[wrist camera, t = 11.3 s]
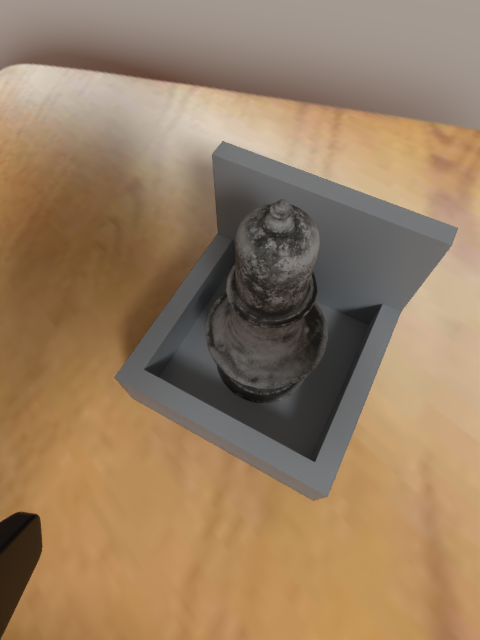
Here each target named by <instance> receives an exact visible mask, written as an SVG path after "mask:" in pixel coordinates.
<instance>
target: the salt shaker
mask: <svg viewBox="0 0 480 640" xmlns="http://www.w3.org/2000/svg"><path fill="white" fill-rule="evenodd" d="M319 249H320V237H319V230H318V228H317V225H316V223H315V222H314V221H313V219H312V218H311V217H310V216H309V215H308V214H307V213H306V212H304V211H303V210H302V209H300V208H298V207H296V206H294V205H290V204H289V203H288V202H287V201H285V199H280V200H279V201H277V202H275V203H272V204H266V205H264V206H261V207H259V208H257V209H255V210H254V211H252V212H251V213H249V214H248V215H247V216H246V217H245V218H244V219H243V220H242V222H241V223H240V225H239V228H238V230H237V233H236V236H235V266H234V267H233V268H232V270H231V271H230V274H229V276H228V279H227V286H226V291H225V292H224V293H223V294H222V295H220V296H219V298H218V299H217V300H216V302H215V303H214V304H213V306H212V307H211V310H210V312H209V315H208V317H207V320H206V330H205V336H206V341H207V346H208V350H209V352H210V354H211V356H212V358H213V360H214V361H215V363H216V364H217V369H218V373H219V375H220V377H221V379H222V381H223V382H224V384H225V385H226V386H227V387H228V388H229V389H230V390H231V391H232V392H233V393H234V394H236V395H238V396H239V397H241V398H243V399H245V400H248V401H252V402H255V403H272V402H277V401H281V400H283V399H285V398H287V397H289V396H291V395H293V394H294V393H295V392H296V391H297V390H298V389H299V388H300V387H301V386H302V384H303V382H304V381H305V379H306V377H307V376H308V375H309V374H310V373H311V372H312V371H313V370H314V369H315V368H316V367H317V366H318V364H319V362H320V360H321V358H322V357H323V355H324V353H325V349H326V345H327V340H328V332H327V323H326V320H325V317H324V315H323V312H322V310H321V308H320V307H319V306H318V304H317V303H316V301H315V300H316V296H317V281H316V278H315V275H314V272H313V270H314V266H315V263H316V259H317V256H318V252H319Z"/></svg>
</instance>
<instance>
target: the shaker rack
mask: <svg viewBox="0 0 480 640" xmlns="http://www.w3.org/2000/svg"><path fill="white" fill-rule="evenodd" d="M212 160H213V174H214V187H215V200H216V214H217V227H218V234H217V235H216V237H215V238H214V239H213V241H212V242H211V243H210V245H209V246H208V248H207V249H206V250H205V252H204V253H203V255H202V256H201V257H200V259H199V260H198V262H197V263H196V264H195V266H194V267H193V269H192V270H191V271H190V273H189V274H188V276H187V277H186V278H185V280H184V281H183V283H182V284H181V285H180V287H179V288H178V289H177V291H176V292H175V294H174V295H173V296H172V298H171V299H170V301H169V302H168V303H167V305H166V306H165V308H164V309H163V310H162V312H161V313H160V315H159V316H158V317H157V319H156V320H155V322H154V323H153V324H152V326H151V327H150V329H149V330H148V331H147V333H146V334H145V336H144V337H143V338H142V340H141V341H140V342H139V344H138V345H137V347H136V348H135V349H134V351H133V352H132V354H131V355H130V356H129V358H128V359H127V361H126V362H125V363H124V365H123V366H122V368H121V369H120V370H119V372H118V373H117V375H116V376H115V377H114V378H115V379H116V380H117V381H118V382H119V383H120V385H121V386H122V387H123V388H124V389H125V390H126V391H127V393H128V394H129V395H130V396H131V397H132V398H133V399H135V400H136V401H138V402H140V403H142V404H144V405H145V406H147V407H149V408H151V409H152V410H154V411H156V412H158V413H159V414H161V415H163V416H165V417H167V418H168V419H170V420H172V421H174V422H175V423H177V424H179V425H181V426H182V427H184V428H186V429H188V430H190V431H191V432H193V433H195V434H197V435H198V436H200V437H202V438H204V439H205V440H207V441H209V442H211V443H213V444H214V445H216V446H218V447H220V448H221V449H223V450H225V451H227V452H228V453H230V454H232V455H234V456H235V457H237V458H239V459H241V460H243V461H244V462H246V463H248V464H250V465H251V466H253V467H255V468H257V469H258V470H260V471H262V472H264V473H266V474H267V475H269V476H271V477H273V478H274V479H276V480H278V481H280V482H281V483H283V484H285V485H287V486H289V487H290V488H292V489H294V490H296V491H297V492H299V493H301V494H303V495H304V496H306V497H308V498H310V499H312V500H313V501H314V500H318V499H321V498H324V497H328V494H329V492H330V489H331V487H332V484H333V482H334V479H335V477H336V474H337V472H338V469H339V467H340V464H341V462H342V459H343V457H344V454H345V452H346V449H347V447H348V444H349V442H350V439H351V437H352V434H353V431H354V429H355V426H356V424H357V421H358V419H359V416H360V414H361V411H362V409H363V406H364V404H365V401H366V399H367V396H368V394H369V391H370V389H371V386H372V384H373V381H374V379H375V376H376V374H377V371H378V368H379V366H380V363H381V361H382V358H383V356H384V353H385V351H386V348H387V346H388V343H389V341H390V338H391V336H392V333H393V331H394V328H395V326H396V323H397V321H398V318H399V316H400V313H401V311H402V310H403V308H404V307H405V306H406V305H407V303H408V302H409V301H410V299H411V298H412V297H413V295H414V294H415V293H416V291H417V290H418V289H419V288H420V286H421V285H422V284H423V282H424V281H425V280H426V278H427V277H428V276H429V275H430V273H431V272H432V271H433V269H434V268H435V267H436V265H437V264H438V263H439V261H440V260H441V259H442V258H443V256H444V255H445V254H446V252H447V251H448V250H449V248H450V247H451V246H452V243H453V241H454V238H455V235H456V232H457V230H458V228H456V227H454V226H451V225H448V224H446V223H443V222H440V221H438V220H435V219H432V218H429V217H427V216H424V215H421V214H419V213H416V212H413V211H410V210H408V209H405V208H402V207H400V206H397V205H394V204H391V203H389V202H386V201H383V200H381V199H378V198H375V197H373V196H370V195H367V194H364V193H362V192H359V191H356V190H354V189H351V188H348V187H345V186H343V185H340V184H337V183H335V182H332V181H329V180H327V179H324V178H321V177H318V176H316V175H313V174H310V173H308V172H305V171H302V170H299V169H297V168H294V167H291V166H289V165H286V164H283V163H280V162H278V161H275V160H272V159H270V158H267V157H264V156H262V155H259V154H256V153H253V152H251V151H248V150H245V149H243V148H240V147H237V146H234V145H232V144H229V143H226V142H224V141H222V143H221V144H220V145H219V146H218V148H217V149H216V150H215V151H214V152H213V154H212ZM280 199H285V201H287V202H288V203H289V204H290V205H294V206H296V207H298V208H300V209H302V210H303V211H304V212H306V213H307V214H308V215H309V216H310V217H311V218H312V219H313V221H314V222H315V223H316V225H317V228H318V230H319V237H320V249H319V252H318V256H317V259H316V263H315V266H314V270H313V272H314V275H315V278H316V281H317V296H316V300H315V301H316V303H317V304H318V306H319V307H320V308H321V310H322V312H323V315H324V317H325V320H326V323H327V332H328V340H327V345H326V349H325V353H324V355H323V357H322V358H321V360H320V362H319V364H318V366H317V367H316V368H315V369H314V370H313V371H312V372H311V373H310V374H309V375H308V376H307V377H306V379H305V381H304V382H303V384H302V386H301V387H300V388H299V389H298V390H297V391H296V392H295V393H294V394H293V395H291V396H289V397H287V398H285V399H283V400H281V401H277V402H272V403H255V402H252V401H248V400H245V399H243V398H241V397H239V396H238V395H236V394H234V393H233V392H232V391H231V390H230V389H229V388H228V387H227V386H226V385H225V384H224V382H223V381H222V379H221V377H220V375H219V373H218V369H217V364H216V363H215V361H214V360H213V358H212V356H211V354H210V352H209V350H208V346H207V341H206V336H205V330H206V320H207V317H208V315H209V312H210V310H211V307H212V306H213V304H214V303H215V302H216V300H217V299H218V298H219V296H220V295H222V294H223V293H224V292H225V291H226V286H227V279H228V276H229V274H230V271H231V270H232V268H233V267H234V266H235V236H236V233H237V230H238V228H239V225H240V223H241V222H242V220H243V219H244V218H245V217H246V216H247V215H248V214H249V213H251V212H252V211H254V210H255V209H257V208H259V207H261V206H264V205H266V204H272V203H275V202H277V201H279V200H280Z"/></svg>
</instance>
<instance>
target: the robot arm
mask: <svg viewBox="0 0 480 640" xmlns="http://www.w3.org/2000/svg"><path fill="white" fill-rule="evenodd" d="M41 552H42V534H41V522H40V517H39V516H38V515H37V514H34V513H27V512H17V513H15V514H13V515H11V516H9V517H8V518H6V519H5V520H3V521H1V522H0V639H1V637H2V635H3V633H4V631H5V629H6V627H7V625H8V623H9V621H10V619H11V617H12V615H13V613H14V610H15V608H16V606H17V604H18V602H19V600H20V598H21V596H22V594H23V592H24V590H25V588H26V585H27V583H28V581H29V579H30V577H31V575H32V573H33V571H34V569H35V567H36V565H37V563H38V560H39V558H40V555H41Z"/></svg>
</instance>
